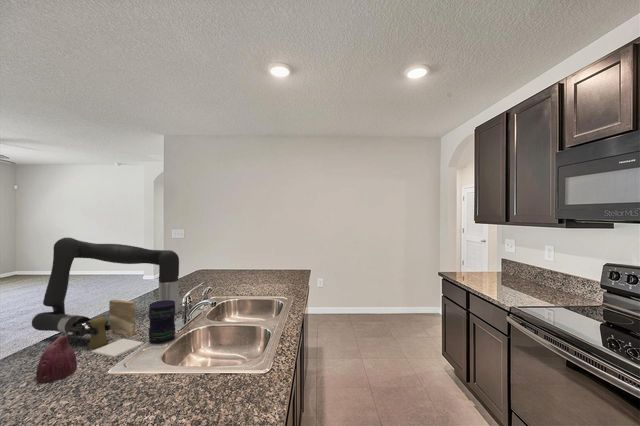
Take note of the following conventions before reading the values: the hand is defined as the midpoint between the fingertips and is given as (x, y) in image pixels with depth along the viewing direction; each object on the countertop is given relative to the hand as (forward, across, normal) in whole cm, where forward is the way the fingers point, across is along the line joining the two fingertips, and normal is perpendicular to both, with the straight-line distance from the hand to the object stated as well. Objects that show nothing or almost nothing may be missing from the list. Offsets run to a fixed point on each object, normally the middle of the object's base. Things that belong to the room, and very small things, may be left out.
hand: (103, 330), depth 116 cm
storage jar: (+16, +13, +7) cm, 22 cm away
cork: (-3, 0, +7) cm, 7 cm away
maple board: (-6, +12, +6) cm, 15 cm away
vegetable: (+6, -19, +7) cm, 21 cm away
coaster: (+7, +1, +6) cm, 10 cm away
